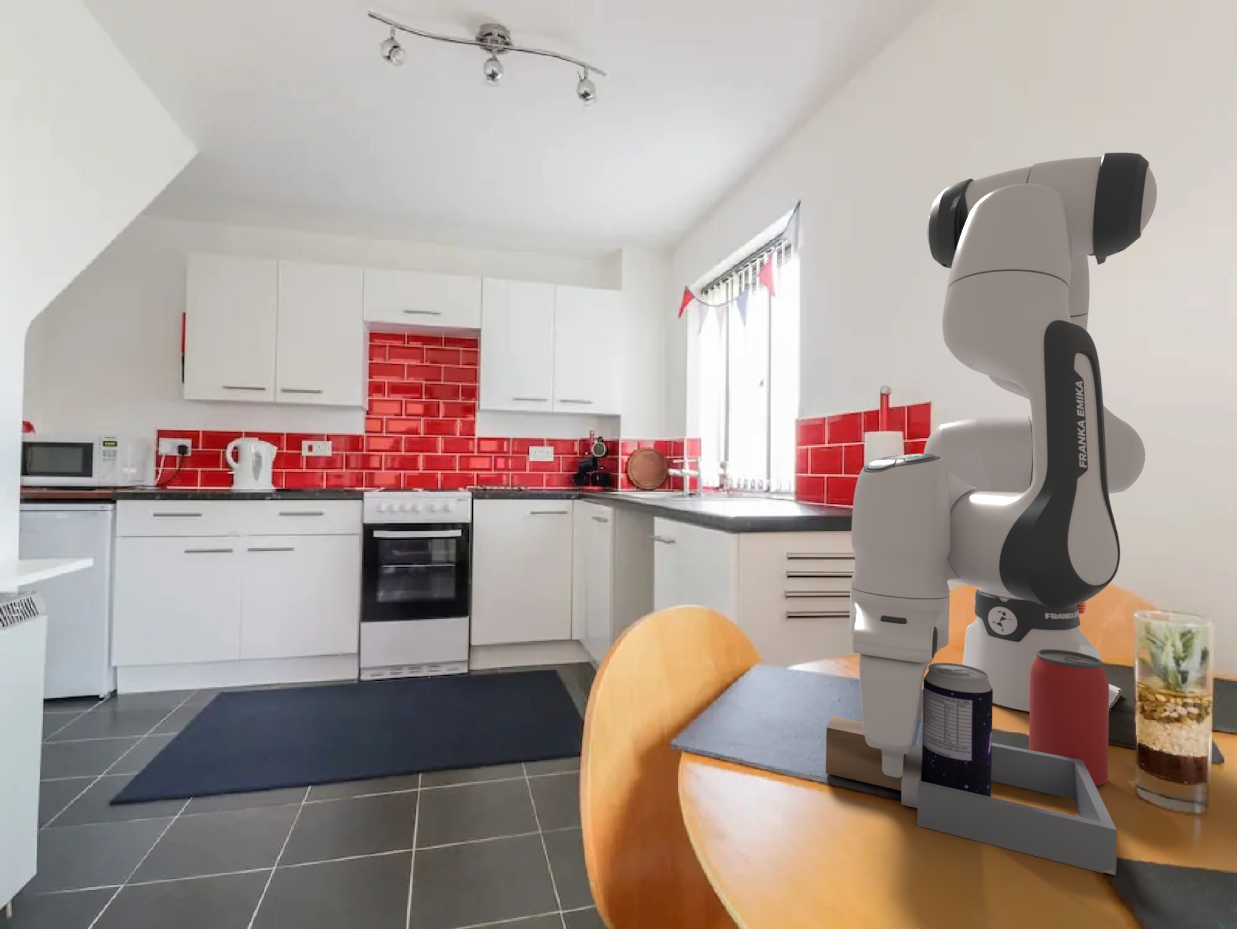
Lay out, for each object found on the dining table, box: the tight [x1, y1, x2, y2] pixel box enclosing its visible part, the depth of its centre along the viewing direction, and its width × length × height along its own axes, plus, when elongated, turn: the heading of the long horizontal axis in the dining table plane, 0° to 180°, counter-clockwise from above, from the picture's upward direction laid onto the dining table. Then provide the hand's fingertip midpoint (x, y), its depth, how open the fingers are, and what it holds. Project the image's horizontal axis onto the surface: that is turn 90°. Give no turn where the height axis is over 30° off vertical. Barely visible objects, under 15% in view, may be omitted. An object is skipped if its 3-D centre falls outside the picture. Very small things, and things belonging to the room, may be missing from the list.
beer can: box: [1028, 649, 1110, 787], centre depth 64 cm, size 7×7×12 cm
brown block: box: [825, 715, 922, 809], centre depth 62 cm, size 9×8×4 cm
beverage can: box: [921, 662, 994, 797], centre depth 59 cm, size 6×6×12 cm
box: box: [916, 742, 1118, 874], centre depth 57 cm, size 14×14×4 cm
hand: (894, 763), depth 61 cm, fingers closed on brown block, 3 cm apart
